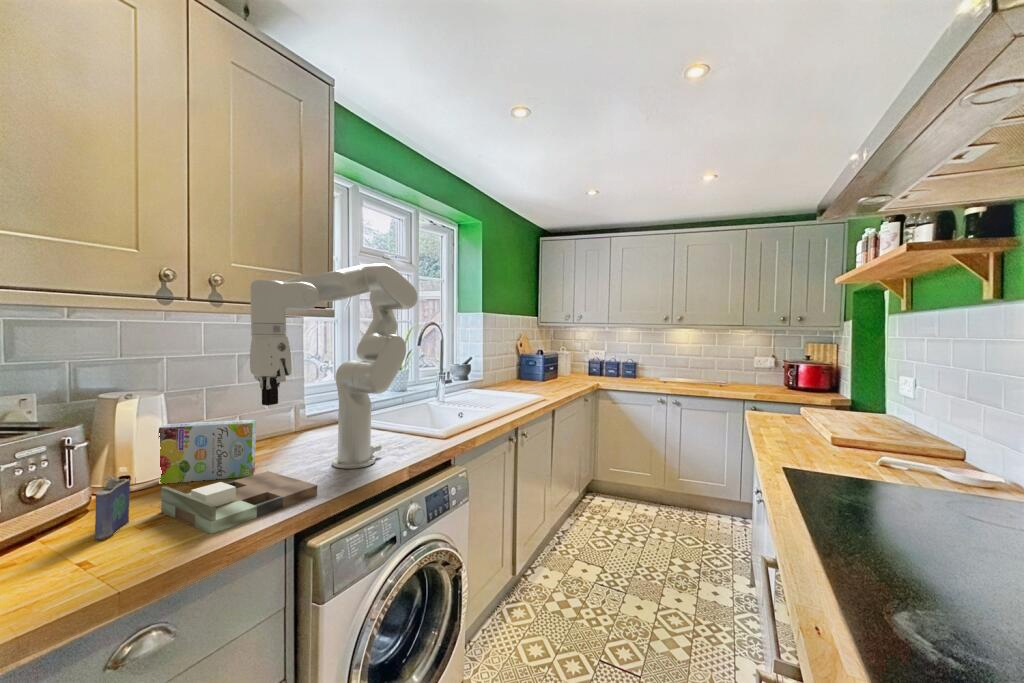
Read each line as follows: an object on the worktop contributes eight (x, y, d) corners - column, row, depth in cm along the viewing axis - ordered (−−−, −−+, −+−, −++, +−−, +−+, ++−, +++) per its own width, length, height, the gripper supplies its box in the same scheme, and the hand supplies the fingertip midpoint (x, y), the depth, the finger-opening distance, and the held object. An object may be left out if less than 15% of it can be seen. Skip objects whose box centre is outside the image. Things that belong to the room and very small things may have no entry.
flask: (108, 540, 81) (108, 484, 81) (88, 542, 80) (88, 485, 80) (132, 520, 90) (132, 469, 89) (114, 522, 89) (115, 470, 88)
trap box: (267, 480, 115) (268, 460, 115) (317, 495, 105) (317, 473, 105) (161, 512, 94) (161, 487, 94) (211, 534, 84) (211, 506, 84)
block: (220, 494, 98) (220, 481, 98) (235, 500, 95) (235, 486, 95) (190, 503, 92) (191, 489, 92) (206, 509, 90) (206, 495, 90)
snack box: (255, 471, 122) (256, 418, 122) (251, 477, 117) (252, 422, 117) (165, 478, 114) (165, 422, 114) (156, 485, 109) (157, 427, 109)
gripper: (302, 331, 105) (303, 404, 106) (264, 329, 112) (266, 399, 113) (273, 331, 98) (274, 410, 99) (235, 330, 105) (236, 404, 106)
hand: (270, 404), depth 106 cm, fingers closed
